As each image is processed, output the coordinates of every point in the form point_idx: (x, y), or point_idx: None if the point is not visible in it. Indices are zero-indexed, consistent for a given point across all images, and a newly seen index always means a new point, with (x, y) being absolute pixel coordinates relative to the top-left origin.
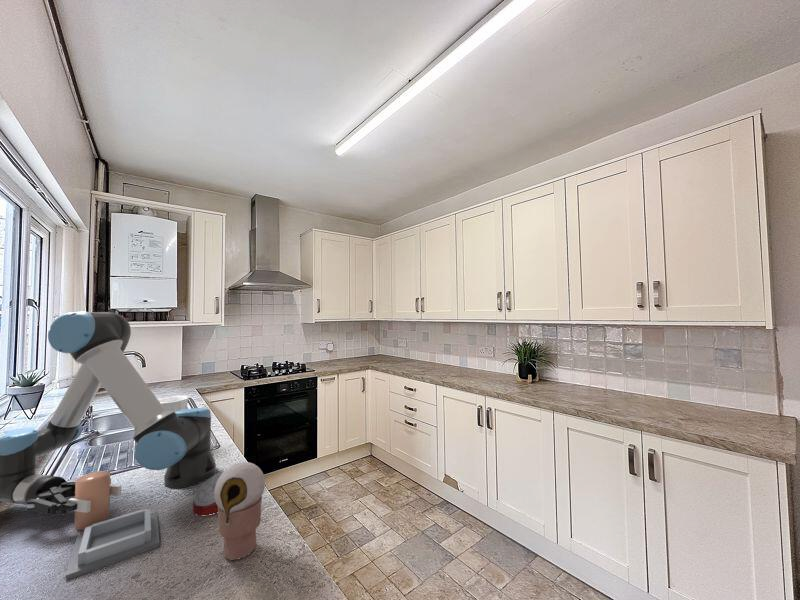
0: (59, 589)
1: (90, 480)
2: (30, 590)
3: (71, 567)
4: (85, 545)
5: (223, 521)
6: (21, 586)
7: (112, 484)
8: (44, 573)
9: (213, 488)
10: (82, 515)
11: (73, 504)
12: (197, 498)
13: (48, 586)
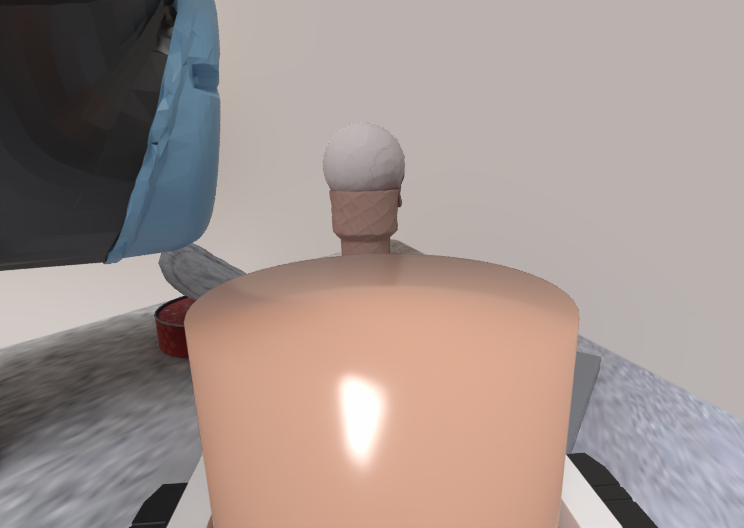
0: (612, 359)
1: (449, 268)
2: (693, 400)
3: (586, 367)
4: None
5: (397, 205)
6: (737, 435)
7: (134, 525)
8: (669, 435)
9: (213, 279)
10: None
11: (579, 463)
12: None
13: (642, 381)
